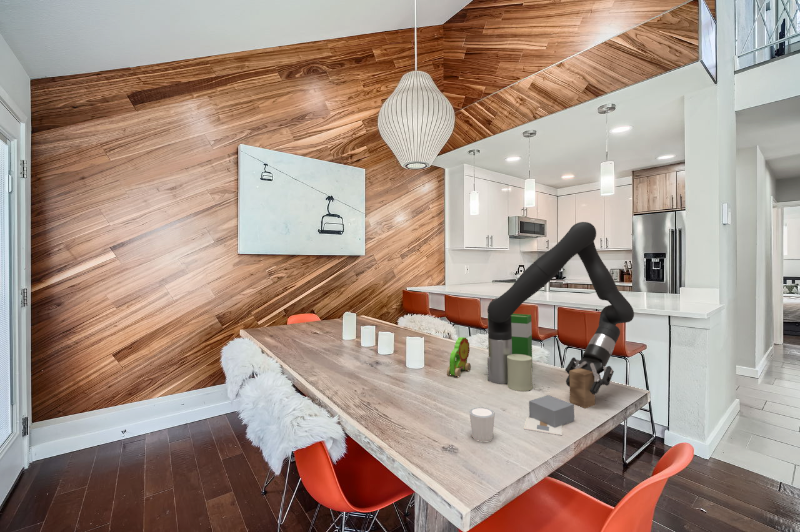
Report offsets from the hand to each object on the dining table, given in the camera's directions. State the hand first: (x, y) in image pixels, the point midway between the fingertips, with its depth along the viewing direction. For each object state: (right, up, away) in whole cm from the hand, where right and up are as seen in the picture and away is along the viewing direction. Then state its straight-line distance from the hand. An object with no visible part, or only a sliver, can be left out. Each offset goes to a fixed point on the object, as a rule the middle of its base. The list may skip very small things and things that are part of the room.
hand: (579, 389), depth 118 cm
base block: (-14, -6, -10) cm, 18 cm away
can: (-14, -6, +18) cm, 23 cm away
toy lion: (-34, -6, +37) cm, 50 cm away
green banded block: (-10, -5, +43) cm, 45 cm away
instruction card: (-18, -6, -15) cm, 24 cm away
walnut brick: (+1, -5, +1) cm, 5 cm away
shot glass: (-37, -7, -20) cm, 43 cm away
